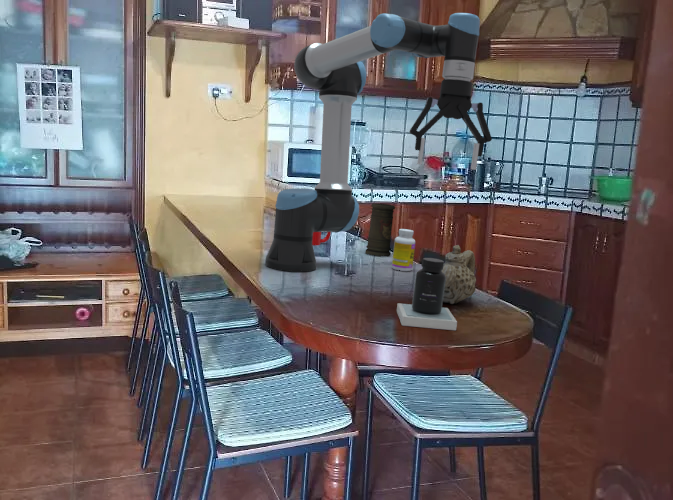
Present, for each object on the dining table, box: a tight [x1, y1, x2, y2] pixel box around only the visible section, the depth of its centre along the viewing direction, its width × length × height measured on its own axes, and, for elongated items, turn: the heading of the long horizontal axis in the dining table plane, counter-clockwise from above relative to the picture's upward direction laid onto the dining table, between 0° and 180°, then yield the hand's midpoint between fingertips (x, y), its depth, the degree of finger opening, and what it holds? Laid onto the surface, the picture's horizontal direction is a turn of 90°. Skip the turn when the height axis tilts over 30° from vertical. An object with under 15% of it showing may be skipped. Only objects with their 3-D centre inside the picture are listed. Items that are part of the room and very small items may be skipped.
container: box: [364, 203, 396, 257], centre depth 233 cm, size 9×9×18 cm
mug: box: [312, 232, 332, 246], centre depth 244 cm, size 8×12×8 cm, turn 116°
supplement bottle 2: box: [411, 257, 446, 315], centre depth 149 cm, size 7×7×12 cm
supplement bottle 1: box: [391, 228, 416, 272], centre depth 209 cm, size 7×7×13 cm
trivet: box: [396, 302, 458, 331], centre depth 150 cm, size 12×12×2 cm
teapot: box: [442, 244, 477, 305], centre depth 171 cm, size 21×12×15 cm, turn 148°
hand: (446, 167), depth 164 cm, fingers open, 13 cm apart
